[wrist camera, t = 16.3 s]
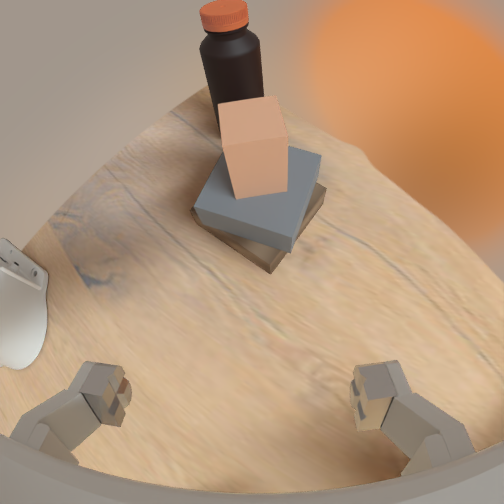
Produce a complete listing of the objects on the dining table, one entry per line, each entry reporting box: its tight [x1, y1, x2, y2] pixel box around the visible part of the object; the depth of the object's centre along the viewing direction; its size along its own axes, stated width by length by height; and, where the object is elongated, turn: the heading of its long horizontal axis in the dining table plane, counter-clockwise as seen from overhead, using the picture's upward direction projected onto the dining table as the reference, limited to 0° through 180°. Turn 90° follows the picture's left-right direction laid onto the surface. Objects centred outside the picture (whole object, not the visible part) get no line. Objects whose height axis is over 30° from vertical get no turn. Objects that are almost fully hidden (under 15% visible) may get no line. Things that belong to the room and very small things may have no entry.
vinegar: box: [200, 0, 264, 134], centre depth 33 cm, size 7×7×20 cm
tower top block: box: [194, 146, 321, 253], centre depth 32 cm, size 10×10×4 cm
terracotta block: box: [218, 96, 288, 199], centre depth 27 cm, size 5×5×8 cm
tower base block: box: [190, 183, 327, 274], centre depth 36 cm, size 11×11×4 cm
